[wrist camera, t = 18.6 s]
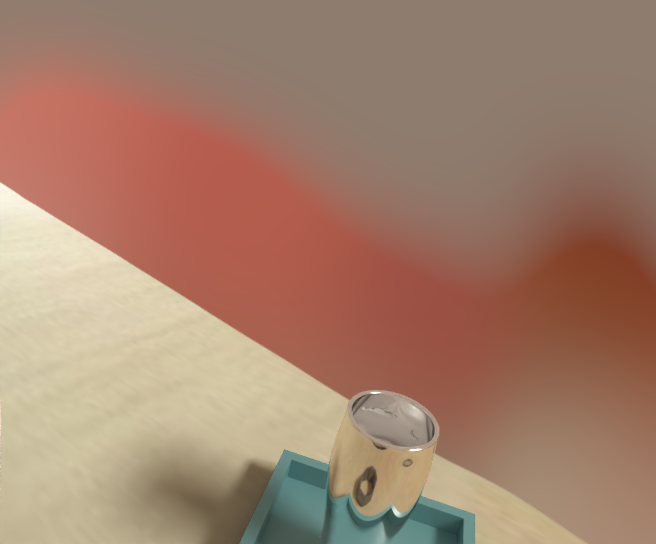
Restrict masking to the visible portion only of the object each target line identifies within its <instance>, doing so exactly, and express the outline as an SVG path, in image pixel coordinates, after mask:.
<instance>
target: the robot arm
mask: <svg viewBox="0 0 656 544" xmlns="http://www.w3.org/2000/svg"><path fill="white" fill-rule="evenodd" d="M0 455H1V400H0Z"/></svg>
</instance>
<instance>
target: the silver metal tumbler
mask: <svg viewBox="0 0 656 544" xmlns="http://www.w3.org/2000/svg"><path fill="white" fill-rule="evenodd" d="M439 435H440V429H439V425H438V423H437V421H436V419H435V417H434V416H433V415H432V414H431V413H430V412H429V411H428V410H427V409H426V408H425V407H424V406H422V405H421V404H420V403H418V402H416V401H415V400H413V399H411V398H409V397H406V396H404V395H401V394H398V393H394V392H390V391H384V390H369V391H364V392H361V393H358V394H356V395H355V396H354V397H352V398H351V400H350V401H349V403H348V406H347V410H346V413H345V415H344V418H343V420H342V423H341V425H340V428H339V431H338V433H337V436H336V439H335V442H334V446H333V449H332V452H331V457H330V461H329V465H328V472H327V480H326V492H325V509H324V521H323V526H322V530H321V533H320V535H319V538H318V539H317V541H316V543H315V544H393V543H394V541H395V540H396V538H397V537H398V535H399V534H400V532H401V531H402V529H403V527H404V526H405V524H406V523H407V521H408V519H409V518H410V516H411V514H412V513H413V511H414V509H415V507H416V505H417V503H418V501H419V499H420V497H421V494H422V492H423V489H424V487H425V484H426V481H427V478H428V475H429V472H430V468H431V464H432V460H433V457H434V452H435V448H436V444H437V440H438V438H439Z"/></svg>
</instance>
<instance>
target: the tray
mask: <svg viewBox="0 0 656 544" xmlns="http://www.w3.org/2000/svg"><path fill="white" fill-rule="evenodd" d="M328 465H329V464H326V463H323V462H320V461H317V460H314V459H311V458H308V457H305V456H302V455H299V454H296V453H293V452H290V451H288V450H285V449H284V451H283V453H282V455H281V458H280V460H279V462H278V464H277V466H276V468H275V470H274V472H273V474H272V476H271V478H270V480H269V483H268V485H267V487H266V489H265V491H264V493H263V495H262V497H261V499H260V501H259V503H258V505H257V508H256V510H255V512H254V514H253V516H252V518H251V520H250V522H249V524H248V526H247V528H246V530H245V532H244V535H243V537H242V539H241V541H240V543H239V544H315V543H316V541H317V539H318V538H319V535H320V533H321V530H322V526H323V521H324V509H325V492H326V480H327V472H328ZM393 544H475V514H472V513H469V512H467V511H464V510H461V509H458V508H455V507H452V506H449V505H446V504H443V503H440V502H437V501H434V500H431V499H428V498H425V497H423V496H421V497H420V499H419V501H418V503H417V505H416V507H415V509H414V511H413V513H412V514H411V516H410V518H409V519H408V521H407V523H406V524H405V526H404V527H403V529H402V531H401V532H400V534H399V535H398V537H397V538H396V540H395V541H394V543H393Z"/></svg>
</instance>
